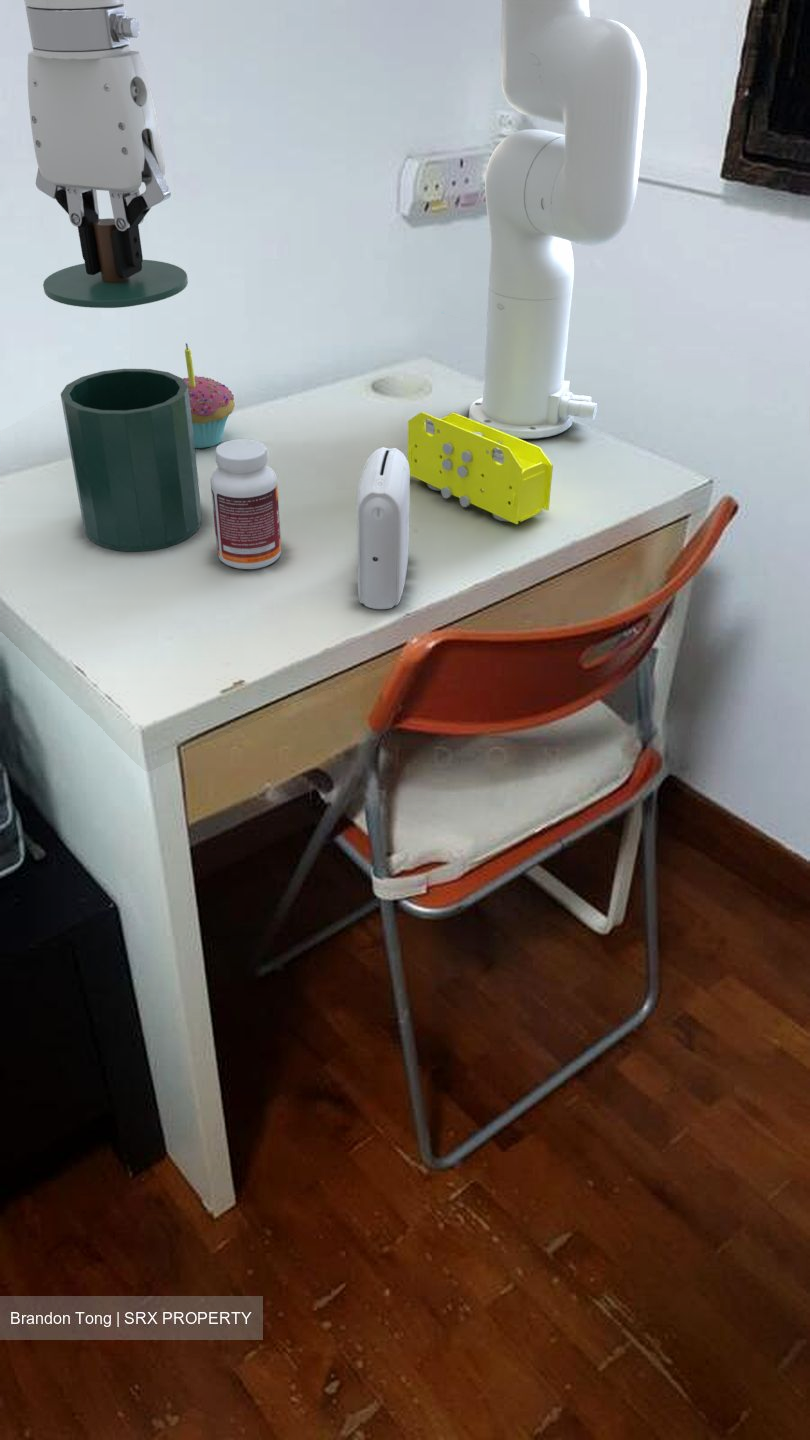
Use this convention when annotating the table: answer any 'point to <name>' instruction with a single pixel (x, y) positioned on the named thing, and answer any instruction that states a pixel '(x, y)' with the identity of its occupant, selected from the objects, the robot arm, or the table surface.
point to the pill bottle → (245, 505)
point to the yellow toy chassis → (479, 466)
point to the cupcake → (207, 406)
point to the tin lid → (113, 279)
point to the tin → (133, 458)
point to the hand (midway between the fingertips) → (114, 270)
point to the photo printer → (383, 528)
